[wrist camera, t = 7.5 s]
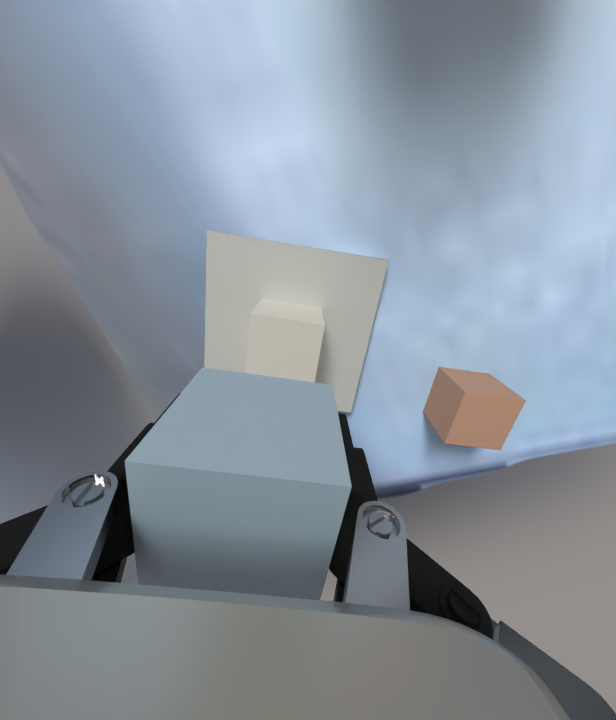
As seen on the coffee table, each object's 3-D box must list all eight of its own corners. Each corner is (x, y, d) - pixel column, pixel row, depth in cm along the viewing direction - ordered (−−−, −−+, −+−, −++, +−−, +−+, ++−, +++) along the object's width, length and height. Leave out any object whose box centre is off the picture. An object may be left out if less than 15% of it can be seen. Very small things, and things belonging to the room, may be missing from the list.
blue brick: (332, 384, 11) (351, 486, 6) (312, 481, 13) (315, 614, 8) (202, 367, 11) (124, 461, 6) (200, 469, 13) (140, 600, 8)
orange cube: (489, 373, 27) (525, 400, 23) (470, 417, 29) (500, 450, 25) (438, 366, 27) (465, 392, 22) (422, 411, 29) (444, 443, 24)
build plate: (385, 259, 23) (388, 260, 22) (349, 406, 29) (351, 412, 27) (211, 230, 22) (207, 230, 21) (208, 386, 28) (204, 392, 27)
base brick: (321, 308, 24) (325, 324, 19) (312, 363, 25) (313, 390, 21) (261, 299, 23) (249, 313, 19) (256, 355, 25) (244, 381, 21)
